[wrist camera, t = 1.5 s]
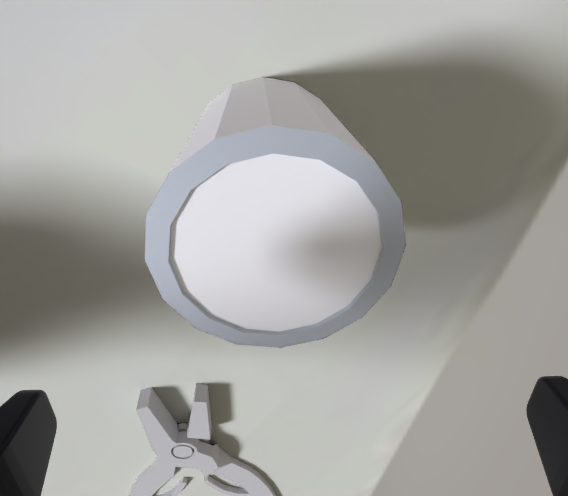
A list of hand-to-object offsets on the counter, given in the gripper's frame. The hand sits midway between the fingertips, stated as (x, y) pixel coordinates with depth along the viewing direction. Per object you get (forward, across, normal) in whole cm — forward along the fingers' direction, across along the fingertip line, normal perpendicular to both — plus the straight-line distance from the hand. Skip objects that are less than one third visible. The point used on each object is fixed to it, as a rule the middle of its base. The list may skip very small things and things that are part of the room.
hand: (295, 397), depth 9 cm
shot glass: (+12, 0, 0) cm, 12 cm away
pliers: (+12, +5, +20) cm, 24 cm away
